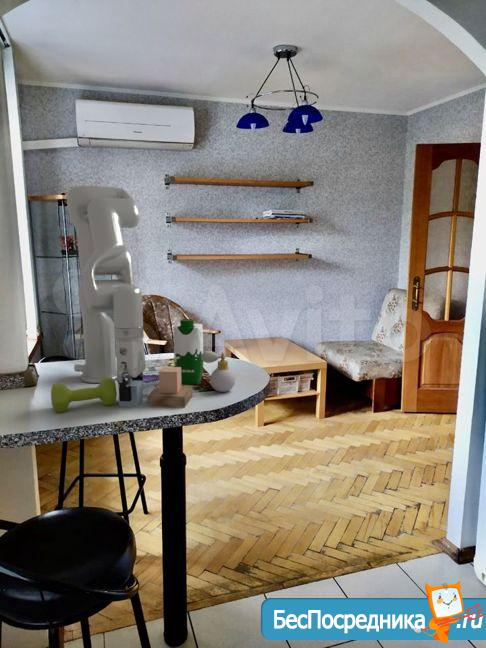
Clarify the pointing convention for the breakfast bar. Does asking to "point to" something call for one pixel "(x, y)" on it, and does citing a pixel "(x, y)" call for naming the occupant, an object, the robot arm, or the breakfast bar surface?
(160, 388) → the terracotta block
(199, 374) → the milk carton
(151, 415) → the breakfast bar surface
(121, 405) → the slate block
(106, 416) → the breakfast bar surface
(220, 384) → the perfume bottle
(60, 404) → the dumbbell
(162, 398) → the walnut base
